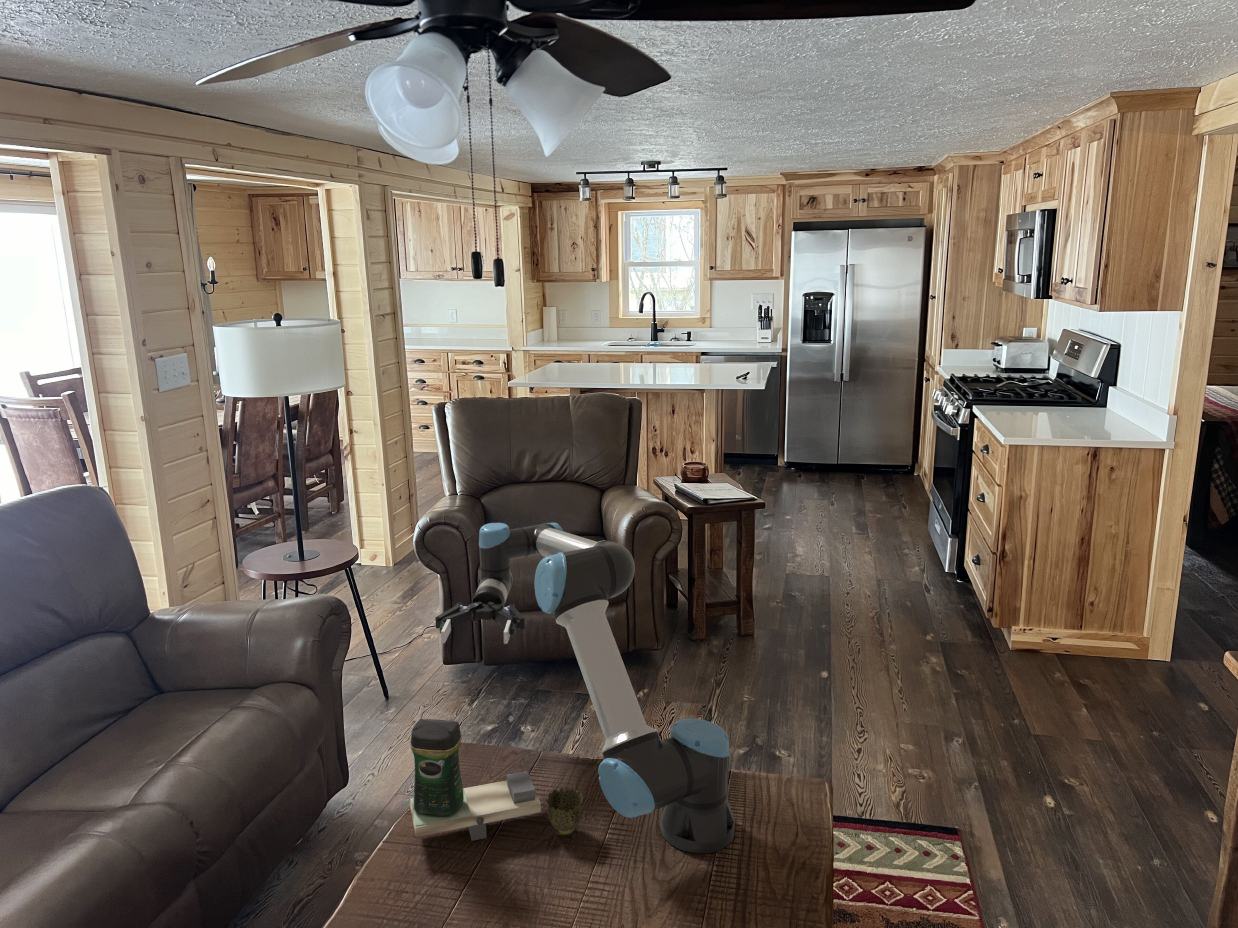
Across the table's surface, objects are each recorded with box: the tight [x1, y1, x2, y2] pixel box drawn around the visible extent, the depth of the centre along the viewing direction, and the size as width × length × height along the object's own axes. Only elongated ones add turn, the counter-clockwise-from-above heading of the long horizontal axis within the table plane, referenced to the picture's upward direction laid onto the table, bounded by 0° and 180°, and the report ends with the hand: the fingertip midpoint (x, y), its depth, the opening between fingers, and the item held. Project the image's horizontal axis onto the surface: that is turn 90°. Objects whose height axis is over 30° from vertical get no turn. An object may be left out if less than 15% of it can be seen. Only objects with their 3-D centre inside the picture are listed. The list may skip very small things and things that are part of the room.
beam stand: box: [467, 823, 487, 842], centre depth 176 cm, size 7×3×4 cm, turn 19°
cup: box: [545, 787, 584, 837], centre depth 175 cm, size 8×7×8 cm
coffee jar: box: [409, 718, 464, 817], centre depth 171 cm, size 10×8×19 cm
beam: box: [409, 770, 542, 838], centre depth 175 cm, size 11×25×4 cm, turn 109°
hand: (474, 637), depth 187 cm, fingers open, 13 cm apart
